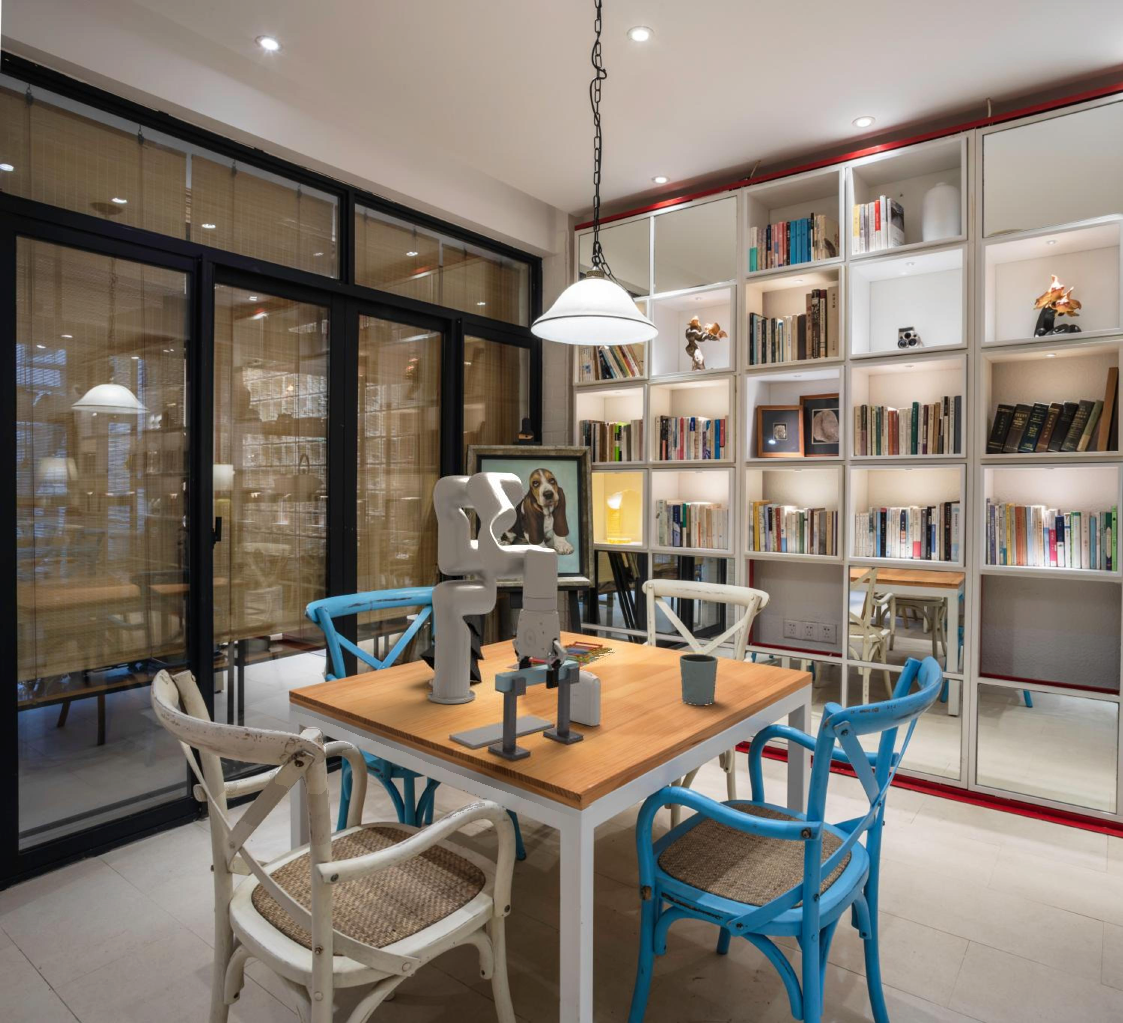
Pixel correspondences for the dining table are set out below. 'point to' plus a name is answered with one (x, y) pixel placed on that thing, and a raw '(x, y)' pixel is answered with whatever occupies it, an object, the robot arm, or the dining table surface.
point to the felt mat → (499, 732)
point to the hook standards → (560, 733)
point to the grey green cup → (698, 678)
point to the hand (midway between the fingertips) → (538, 683)
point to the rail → (530, 675)
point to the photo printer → (586, 699)
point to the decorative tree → (475, 648)
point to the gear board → (574, 654)
